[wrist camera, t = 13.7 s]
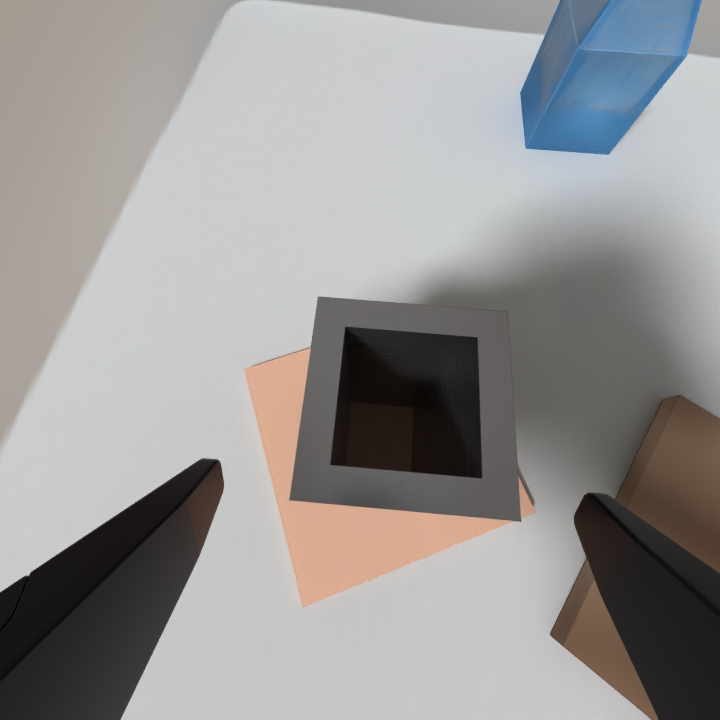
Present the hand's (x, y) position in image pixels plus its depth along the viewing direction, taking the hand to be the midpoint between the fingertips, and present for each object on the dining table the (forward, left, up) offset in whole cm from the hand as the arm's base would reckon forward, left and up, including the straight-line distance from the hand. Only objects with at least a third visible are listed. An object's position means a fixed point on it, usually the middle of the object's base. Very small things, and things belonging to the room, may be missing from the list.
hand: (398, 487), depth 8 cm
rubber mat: (+1, +2, -10) cm, 10 cm away
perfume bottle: (+23, +20, -10) cm, 32 cm away
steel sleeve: (+1, +2, -9) cm, 9 cm away
